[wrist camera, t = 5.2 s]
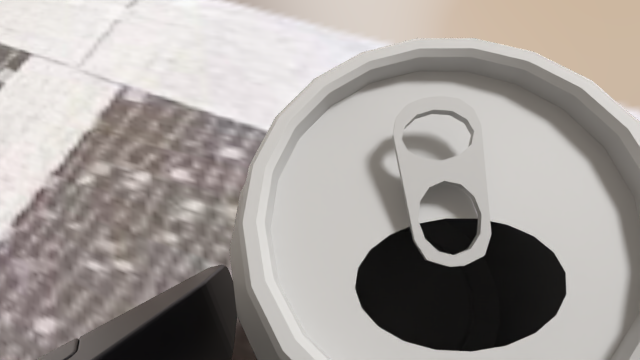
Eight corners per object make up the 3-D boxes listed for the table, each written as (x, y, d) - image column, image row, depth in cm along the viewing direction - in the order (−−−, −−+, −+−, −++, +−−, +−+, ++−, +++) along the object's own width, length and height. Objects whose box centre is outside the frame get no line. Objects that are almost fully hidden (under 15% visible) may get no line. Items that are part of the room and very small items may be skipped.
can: (314, 407, 15) (163, 559, 4) (306, 221, 18) (206, 28, 7) (514, 397, 14) (959, 548, 4) (471, 206, 17) (638, -32, 7)
